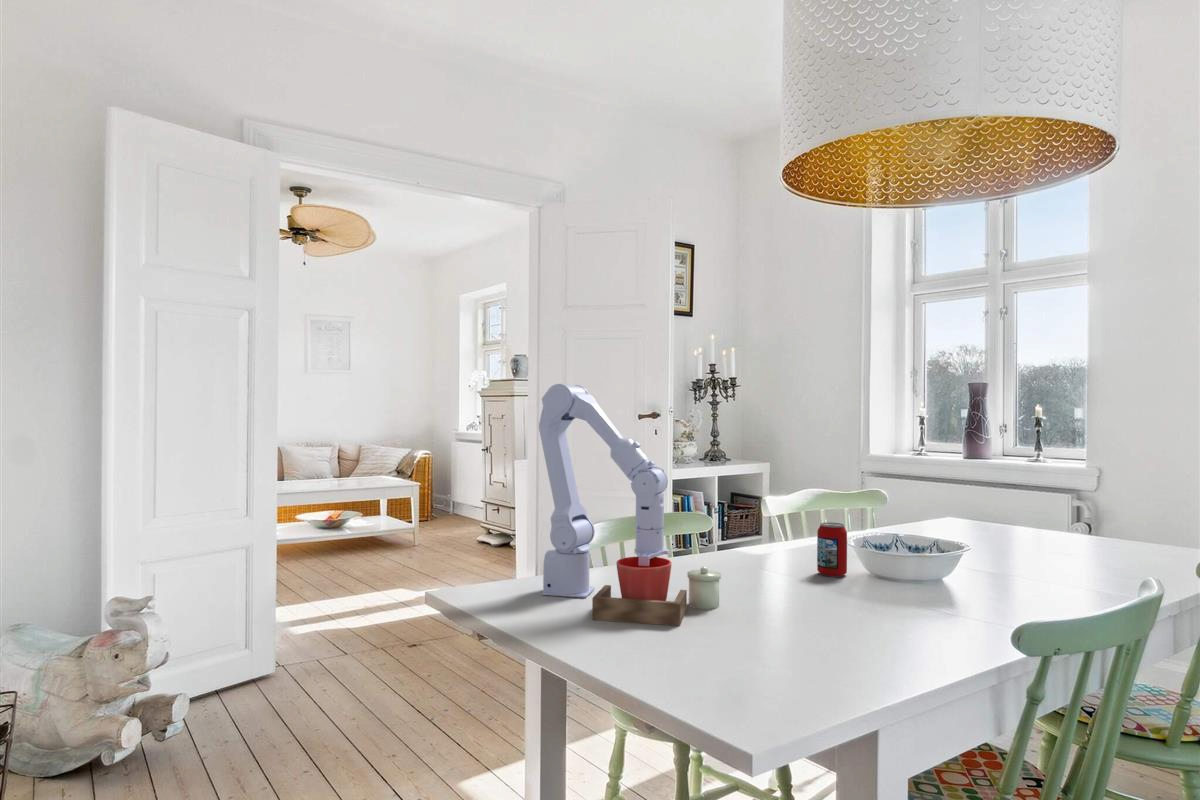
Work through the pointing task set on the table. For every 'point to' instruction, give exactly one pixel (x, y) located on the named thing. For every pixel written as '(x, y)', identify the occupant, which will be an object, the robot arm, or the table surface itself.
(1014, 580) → the table surface
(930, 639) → the table surface
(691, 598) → the green jar
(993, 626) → the table surface
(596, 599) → the wooden tray
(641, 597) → the flower pot
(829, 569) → the beverage can
